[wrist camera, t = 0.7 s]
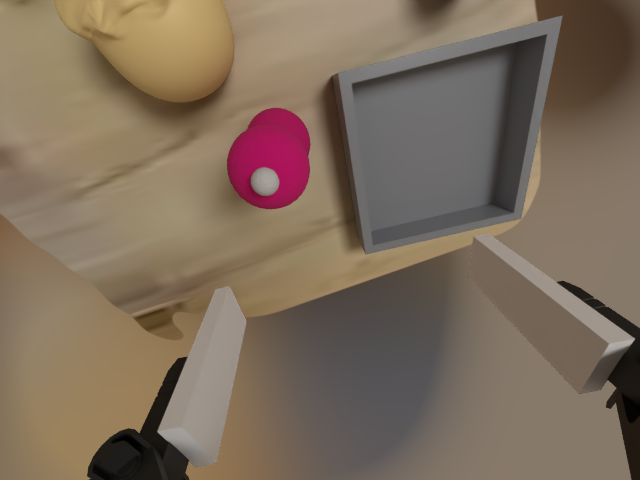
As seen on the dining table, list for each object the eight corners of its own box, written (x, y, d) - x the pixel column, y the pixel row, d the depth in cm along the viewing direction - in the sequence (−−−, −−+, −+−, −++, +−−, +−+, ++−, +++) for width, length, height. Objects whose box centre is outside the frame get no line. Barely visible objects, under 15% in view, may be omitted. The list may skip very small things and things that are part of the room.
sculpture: (192, -71, 23) (124, -182, 14) (260, 72, 29) (243, 61, 20) (94, -6, 25) (-27, -67, 16) (176, 118, 31) (125, 127, 21)
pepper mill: (258, 169, 34) (221, 244, 17) (245, 110, 31) (181, 128, 13) (311, 163, 35) (328, 230, 17) (304, 103, 31) (316, 112, 14)
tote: (331, 76, 30) (338, 72, 25) (522, 27, 29) (562, 15, 25) (358, 237, 41) (365, 254, 37) (496, 205, 40) (520, 218, 36)
